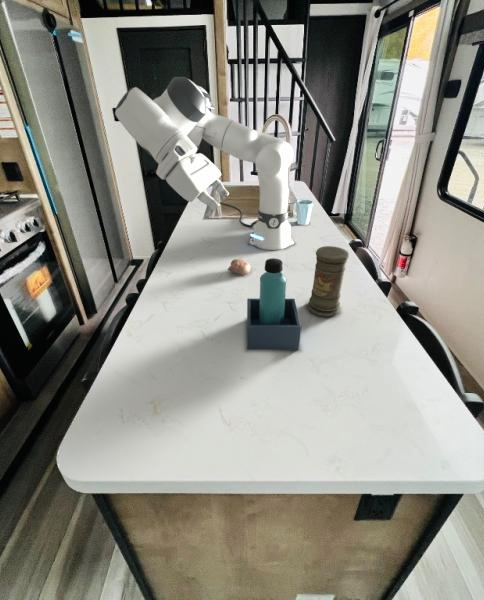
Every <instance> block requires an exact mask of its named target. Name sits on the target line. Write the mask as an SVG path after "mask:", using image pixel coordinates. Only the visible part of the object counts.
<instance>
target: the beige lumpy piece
mask: <svg viewBox="0 0 484 600" xmlns="http://www.w3.org/2000/svg"><path fill="white" fill-rule="evenodd" d="M251 269H252V267H251V265H250V263H249V262H247V261H245V260H244V259H241V258H238V259H237V258H235V259H232V260H231V262H230V266H229V267H228V268H227V271H229V272H231V273H237V274H239V275H242V276H243V275H248V274H250V272H251Z"/></svg>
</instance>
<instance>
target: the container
mask: <svg viewBox="0 0 484 600" xmlns="http://www.w3.org/2000/svg"><path fill="white" fill-rule="evenodd" d="M349 254H350V253H349V252H348V251H347V250H346V249H344V248H342V247H338V246H332V245H325V246H321V247H319V248H317V250H316V251H315V256H316V257H315V258H316V263H315V266H314V267H315V268H314V276H313V284H312V289H311V295H310V297H309V299H308V303H307V307H308V311H310V312H311V313H312V314H313V315H315V316H317V317H321V318H331V317H334V316H336V315H338V313H339V312H340V305H341V303H340V299H341V291H342V286H343V280H344V276H345V272H346V265H347V264H346V263H347V262H348V259H349V258H350V255H349Z"/></svg>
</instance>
